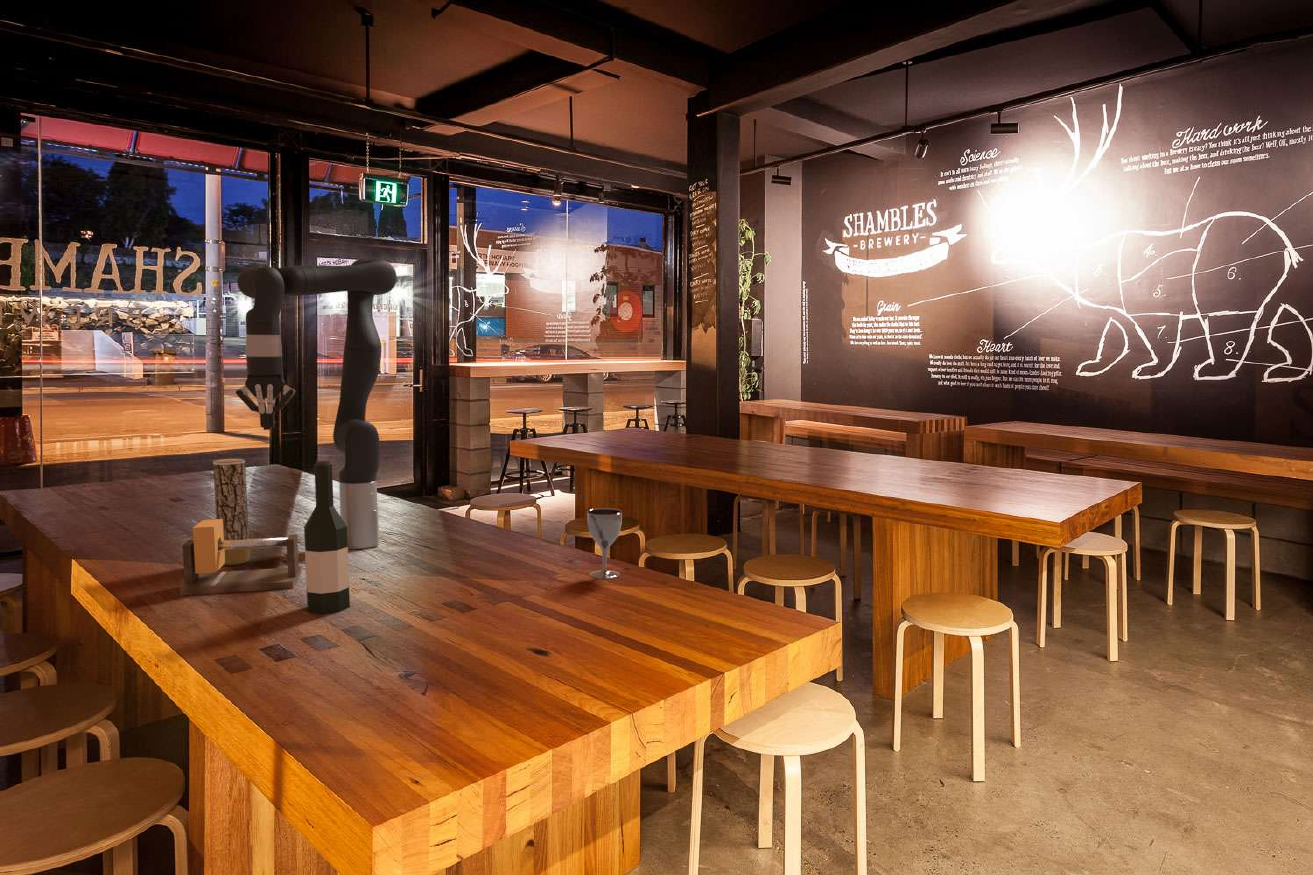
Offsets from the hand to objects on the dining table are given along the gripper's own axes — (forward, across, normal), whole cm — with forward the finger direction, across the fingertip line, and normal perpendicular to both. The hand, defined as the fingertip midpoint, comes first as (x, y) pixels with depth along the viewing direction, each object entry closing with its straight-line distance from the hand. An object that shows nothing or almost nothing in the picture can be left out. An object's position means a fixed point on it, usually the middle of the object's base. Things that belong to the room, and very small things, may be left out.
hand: (267, 429), depth 192 cm
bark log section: (+33, +10, -7) cm, 35 cm away
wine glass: (+33, -75, +25) cm, 86 cm away
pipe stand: (+33, +4, +13) cm, 36 cm away
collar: (+29, +10, +13) cm, 33 cm away
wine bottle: (+33, -16, +35) cm, 51 cm away
